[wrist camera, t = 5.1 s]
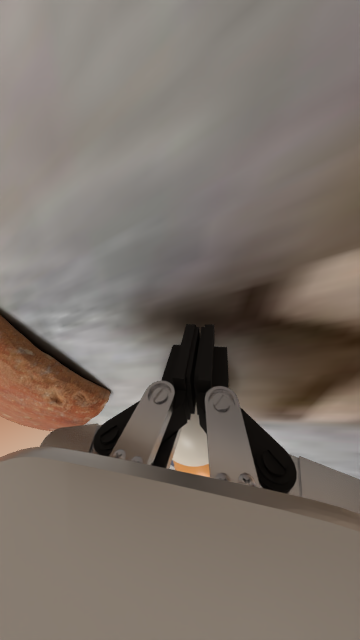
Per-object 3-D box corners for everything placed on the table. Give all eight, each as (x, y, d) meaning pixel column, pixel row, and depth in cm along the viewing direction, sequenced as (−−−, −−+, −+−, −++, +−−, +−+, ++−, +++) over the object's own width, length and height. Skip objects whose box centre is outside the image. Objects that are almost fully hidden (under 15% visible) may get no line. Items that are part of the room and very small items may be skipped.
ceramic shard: (-114, 388, 17) (-70, 302, 12) (-32, 351, 23) (23, 282, 18) (12, 474, 21) (90, 437, 15) (56, 422, 26) (123, 383, 21)
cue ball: (267, 454, 9) (243, 413, 15) (201, 357, 11) (202, 354, 16) (173, 516, 10) (186, 452, 15) (119, 413, 11) (149, 390, 17)
